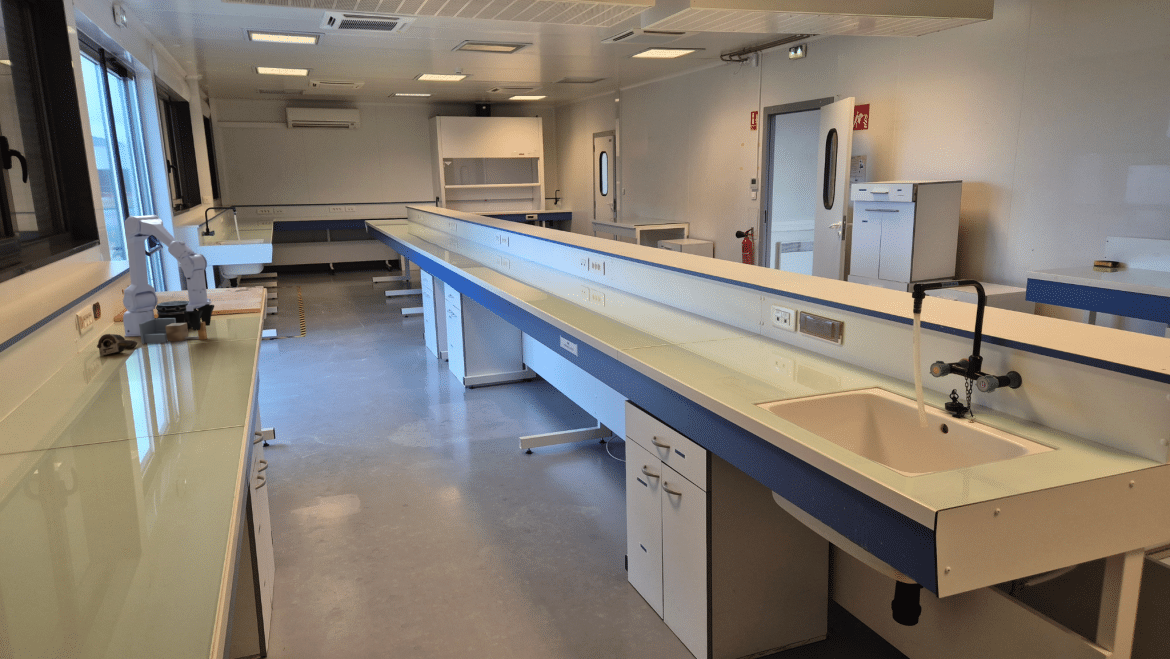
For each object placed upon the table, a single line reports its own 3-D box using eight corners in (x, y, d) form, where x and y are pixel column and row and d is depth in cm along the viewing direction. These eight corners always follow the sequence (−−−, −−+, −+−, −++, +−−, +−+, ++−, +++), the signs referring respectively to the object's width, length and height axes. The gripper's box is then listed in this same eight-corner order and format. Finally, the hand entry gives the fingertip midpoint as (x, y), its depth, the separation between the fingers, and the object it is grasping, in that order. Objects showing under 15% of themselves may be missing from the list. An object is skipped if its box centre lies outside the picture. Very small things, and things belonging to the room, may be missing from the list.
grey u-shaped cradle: (141, 343, 253) (139, 324, 252) (156, 337, 263) (153, 318, 261) (164, 343, 254) (161, 323, 252) (178, 337, 263) (175, 318, 262)
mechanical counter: (85, 339, 237) (103, 335, 232) (122, 328, 248) (141, 323, 243) (94, 360, 238) (112, 356, 234) (131, 348, 249) (149, 344, 245)
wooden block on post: (167, 341, 256) (165, 324, 255) (174, 338, 261) (172, 321, 260) (202, 340, 257) (200, 323, 255) (209, 337, 261) (207, 320, 260)
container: (203, 325, 285) (200, 299, 283) (182, 332, 272) (179, 305, 270) (172, 325, 286) (169, 300, 284) (150, 332, 273) (146, 305, 271)
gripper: (199, 292, 248) (204, 331, 251) (217, 286, 263) (222, 323, 265) (177, 293, 248) (183, 332, 251) (197, 286, 262) (202, 323, 265)
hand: (201, 327), depth 258 cm, fingers open, 7 cm apart
